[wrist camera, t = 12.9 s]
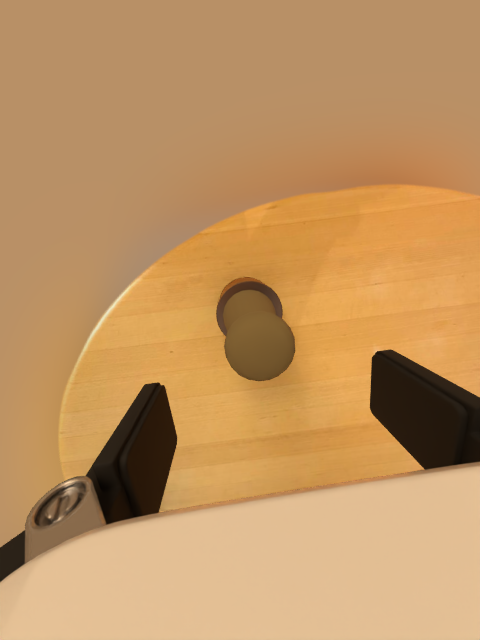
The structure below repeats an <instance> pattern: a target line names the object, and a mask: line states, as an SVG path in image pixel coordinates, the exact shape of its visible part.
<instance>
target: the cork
mask: <svg viewBox="0 0 480 640" xmlns="http://www.w3.org/2000/svg"><path fill="white" fill-rule="evenodd" d="M223 320H224V325H225V327H226V329H227V334H226V339H225V345H224V347H225V354H226V358H227V360H228V362H229V363H230V365H231V367H232V368H233V369H234V370H235V371H236V372H237V373H238V374H239V375H240V376H242V377H245V378H247V379H249V380H255V381H264V380H270V379H272V378H275V377H277V376H279V375H280V374H281V373H283V372H284V371H285V370H286V369H287V368H288V366H289V365H290V363H291V362H292V360H293V357H294V353H295V339H294V336H293V333H292V331H291V328H290V327H289V326H288V325H287V324H286V323H285V321H284V320H283V319H282V318H280V317H279V316H277V315H276V312H275V308H274V306H273V304H272V301H271V300H270V299H269V298H268V297H267V296H266V295H265V294H263V293H261V292H259V291H255V290H244V291H240V292H238V293H236V294H234V295H233V296H232V297H231V298H230V299H229V300H228V301H227V303H226V305H225V307H224V312H223Z"/></svg>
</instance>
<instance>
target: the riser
mask: <svg viewBox="0 0 480 640" xmlns="http://www.w3.org/2000/svg"><path fill="white" fill-rule="evenodd" d="M244 290H255V291H259V292H261V293H263V294H265V295H266V296H267V297H268V298H269V299H270V300H271V301H272V304H273V306H274V308H275V312H276V315H277V316H279V317H280V318H282V305H281V302H280V299H279V298H278V296H277V294H276V293H275V292H274V291H273V290H272V289H271V288H270V287H268V286H267V285H265V284H264V283H262V282H261V281H259V280H257V279H254V278H248V277H244V278H239V279H236V280H234V281H232V282H230V283H229V284H228V285H227V286H226V287H225V288H224V290H223V291H222V293H221V296H220V299H219V302H218V306H217V322H218V325H219V327H220V329H221V331H222V332H223V334H224V335H225V336H226V334H227V329H226V327H225V325H224V320H223V312H224V307H225V305H226V303H227V301H228V300H229V299H230V298H231V297H232V296H233V295H234V294H236V293H238V292H240V291H244Z"/></svg>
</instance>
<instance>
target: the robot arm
mask: <svg viewBox="0 0 480 640" xmlns="http://www.w3.org/2000/svg"><path fill="white" fill-rule="evenodd" d="M370 409H371V412H372V414H373V415H374V416H375V417H376V418H377V419H378V420H379V421H380V422H381V424H382V425H383V426H384V427H385V428H386V429H387V430H388V431H389V432H390V433H391V434H392V435H393V436H394V437H395V438H396V439H397V440H398V441H399V443H400V444H401V445H402V446H403V447H404V448H405V449H406V450H407V451H408V452H409V453H410V454H411V455H412V456H413V457H414V458H415V459H416V460H417V462H418V463H419V464H420V465H421V466H422V467H423V468H424V469H425V470H420V471H413V472H406V473H400V474H393V475H386V476H380V477H373V478H367V479H361V480H354V481H348V482H341V483H335V484H328V485H322V486H316V487H310V488H303V489H297V490H291V491H284V492H278V493H272V494H266V495H260V496H254V497H248V498H241V499H235V500H229V501H223V502H217V503H211V504H205V505H199V506H193V507H188V508H182V509H177V510H171V511H166V512H160V513H158V512H159V509H160V505H161V501H162V497H163V494H164V490H165V486H166V482H167V479H168V475H169V471H170V467H171V464H172V460H173V456H174V452H175V449H176V445H177V434H176V430H175V426H174V422H173V418H172V414H171V410H170V406H169V402H168V397H167V393H166V389H165V386H164V385H160V383H151V384H145V385H144V386H143V388H142V389H141V391H140V392H139V394H138V396H137V397H136V399H135V400H134V402H133V403H132V405H131V406H130V408H129V409H128V411H127V413H126V414H125V416H124V417H123V419H122V420H121V422H120V423H119V425H118V426H117V428H116V429H115V431H114V433H113V434H112V436H111V437H110V439H109V440H108V442H107V443H106V445H105V446H104V448H103V450H102V451H101V453H100V454H99V456H98V457H97V459H96V460H95V462H94V463H93V465H92V467H91V469H90V470H89V472H88V473H87V475H86V476H78V477H74V478H71V479H68V480H66V481H64V482H62V483H60V484H58V485H57V486H55V487H54V488H53V489H51V490H50V491H48V493H46V494H45V495H44V496H43V497H42V498H41V499H40V500H39V501H38V502H37V503H36V504H35V506H34V507H33V508H32V510H31V511H30V513H29V515H28V517H27V520H26V524H25V531H23V532H22V533H20V534H19V535H17V536H16V537H15V538H13V539H12V540H11V541H9V542H8V543H6V544H5V545H3V546H2V547H0V640H480V397H478V396H476V395H474V394H472V393H470V392H469V391H467V390H465V389H463V388H461V387H459V386H458V385H456V384H454V383H452V382H450V381H448V380H446V379H445V378H443V377H441V376H439V375H437V374H435V373H434V372H432V371H430V370H428V369H426V368H424V367H423V366H421V365H419V364H417V363H415V362H413V361H412V360H410V359H408V358H406V357H404V356H402V355H401V354H399V353H397V352H395V351H393V350H384V351H377V352H376V353H375V355H374V356H373V357H372V370H371V394H370Z"/></svg>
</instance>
